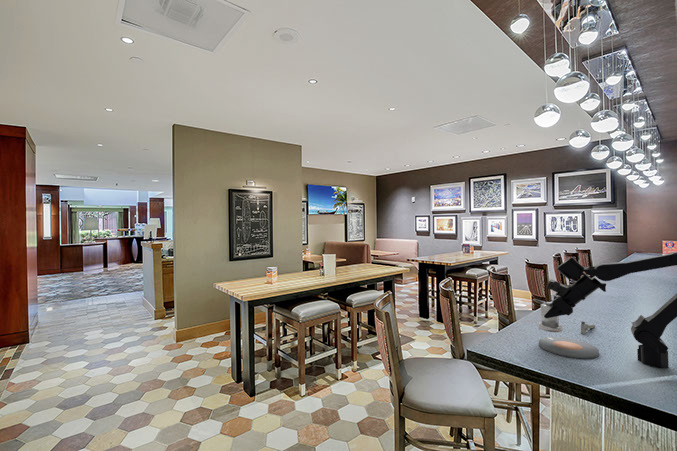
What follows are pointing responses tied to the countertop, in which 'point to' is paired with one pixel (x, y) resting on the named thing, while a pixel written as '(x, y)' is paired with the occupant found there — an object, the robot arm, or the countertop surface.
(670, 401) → the countertop surface
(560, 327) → the cover
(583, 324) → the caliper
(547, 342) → the turntable
